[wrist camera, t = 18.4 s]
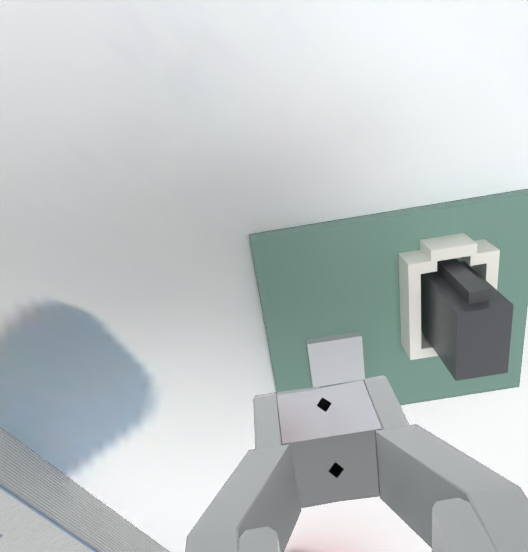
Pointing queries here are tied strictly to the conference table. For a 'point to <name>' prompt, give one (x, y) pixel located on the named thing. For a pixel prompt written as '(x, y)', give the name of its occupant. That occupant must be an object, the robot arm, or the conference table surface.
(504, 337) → the plug
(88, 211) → the conference table surface
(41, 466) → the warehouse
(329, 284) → the board
